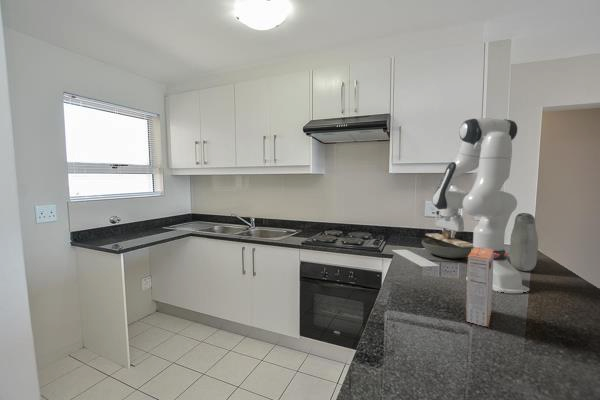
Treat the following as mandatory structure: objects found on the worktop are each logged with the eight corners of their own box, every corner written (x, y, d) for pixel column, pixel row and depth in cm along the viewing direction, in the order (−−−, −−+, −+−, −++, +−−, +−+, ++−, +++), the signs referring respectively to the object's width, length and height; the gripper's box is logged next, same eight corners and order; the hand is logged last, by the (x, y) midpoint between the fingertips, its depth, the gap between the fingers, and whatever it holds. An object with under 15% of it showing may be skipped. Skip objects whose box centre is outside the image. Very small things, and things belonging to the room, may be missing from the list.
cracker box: (470, 306, 93) (473, 246, 92) (492, 311, 89) (495, 249, 88) (464, 322, 82) (466, 254, 81) (488, 329, 78) (491, 258, 77)
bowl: (474, 267, 137) (475, 251, 136) (416, 257, 154) (416, 243, 153) (478, 255, 158) (479, 241, 158) (427, 248, 175) (427, 236, 175)
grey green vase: (540, 274, 125) (543, 214, 124) (514, 272, 129) (516, 213, 127) (530, 268, 135) (533, 212, 133) (505, 266, 138) (508, 211, 136)
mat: (439, 266, 137) (439, 265, 137) (421, 267, 136) (421, 266, 136) (406, 250, 171) (406, 249, 171) (391, 250, 170) (391, 249, 170)
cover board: (476, 246, 140) (477, 237, 139) (462, 247, 139) (462, 237, 138) (437, 234, 172) (437, 227, 172) (425, 235, 171) (425, 227, 171)
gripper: (467, 214, 145) (466, 240, 145) (443, 211, 165) (442, 233, 166) (456, 215, 144) (456, 240, 145) (433, 211, 164) (432, 233, 165)
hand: (448, 236), depth 155 cm, fingers closed on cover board, 4 cm apart
